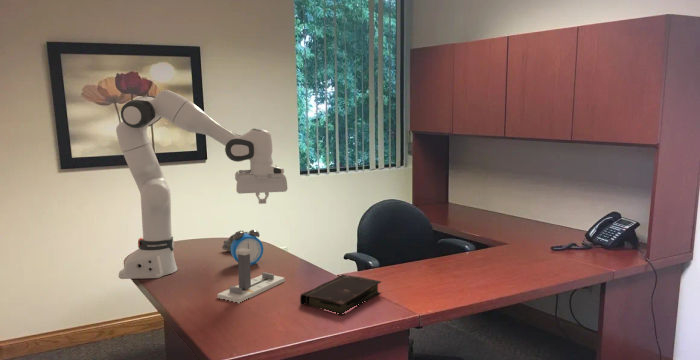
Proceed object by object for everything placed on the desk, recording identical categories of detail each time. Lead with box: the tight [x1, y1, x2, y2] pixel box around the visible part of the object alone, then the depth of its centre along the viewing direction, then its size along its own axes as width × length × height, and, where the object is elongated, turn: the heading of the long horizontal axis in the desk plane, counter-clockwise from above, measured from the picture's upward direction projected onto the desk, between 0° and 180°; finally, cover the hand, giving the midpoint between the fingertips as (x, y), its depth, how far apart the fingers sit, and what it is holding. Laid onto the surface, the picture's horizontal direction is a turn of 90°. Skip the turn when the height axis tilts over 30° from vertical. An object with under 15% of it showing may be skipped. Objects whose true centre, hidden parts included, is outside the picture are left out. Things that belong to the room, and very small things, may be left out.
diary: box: [299, 274, 382, 316], centre depth 175 cm, size 19×25×5 cm
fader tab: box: [236, 248, 252, 290], centre depth 180 cm, size 4×4×14 cm
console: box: [217, 271, 286, 304], centre depth 184 cm, size 26×10×4 cm, turn 150°
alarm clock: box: [230, 229, 264, 266], centre depth 214 cm, size 13×6×15 cm, turn 116°
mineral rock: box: [221, 230, 250, 252], centre depth 236 cm, size 13×11×10 cm
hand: (262, 203), depth 200 cm, fingers closed
